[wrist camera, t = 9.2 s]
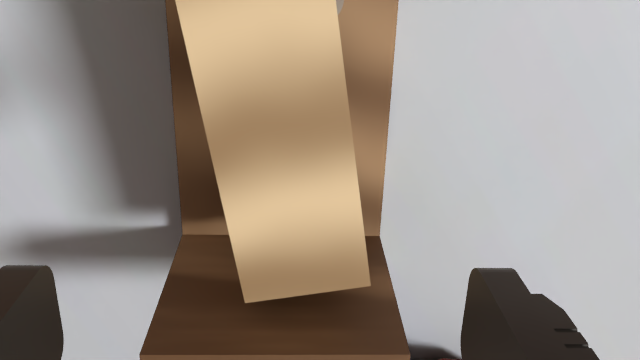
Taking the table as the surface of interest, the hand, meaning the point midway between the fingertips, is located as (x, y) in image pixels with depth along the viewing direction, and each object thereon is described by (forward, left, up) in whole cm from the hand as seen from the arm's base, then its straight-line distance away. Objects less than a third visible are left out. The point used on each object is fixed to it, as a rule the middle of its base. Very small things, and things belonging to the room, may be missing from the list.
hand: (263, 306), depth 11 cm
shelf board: (0, 0, -14) cm, 14 cm away
